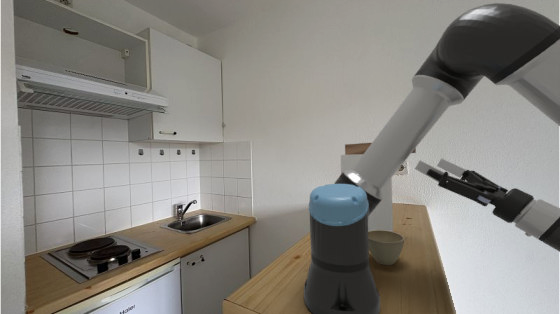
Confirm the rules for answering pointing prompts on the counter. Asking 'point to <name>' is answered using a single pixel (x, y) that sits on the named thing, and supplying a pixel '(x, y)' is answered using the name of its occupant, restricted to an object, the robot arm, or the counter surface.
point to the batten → (359, 148)
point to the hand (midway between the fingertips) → (429, 163)
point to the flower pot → (385, 246)
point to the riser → (383, 212)
